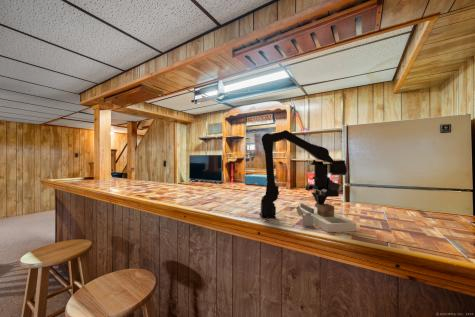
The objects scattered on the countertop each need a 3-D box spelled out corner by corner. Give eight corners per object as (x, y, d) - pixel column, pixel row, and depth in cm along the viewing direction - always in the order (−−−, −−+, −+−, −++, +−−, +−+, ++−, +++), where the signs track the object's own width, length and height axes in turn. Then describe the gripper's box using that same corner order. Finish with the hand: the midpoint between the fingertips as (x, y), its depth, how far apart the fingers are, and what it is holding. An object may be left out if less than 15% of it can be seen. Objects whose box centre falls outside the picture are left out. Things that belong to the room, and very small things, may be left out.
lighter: (313, 225, 85) (313, 206, 85) (313, 226, 84) (313, 207, 84) (295, 223, 88) (295, 204, 88) (295, 224, 86) (295, 205, 86)
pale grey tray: (327, 232, 77) (327, 219, 77) (296, 212, 105) (296, 202, 105) (356, 230, 79) (356, 218, 79) (318, 211, 107) (318, 202, 107)
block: (323, 217, 87) (323, 206, 87) (317, 213, 92) (317, 204, 92) (334, 216, 88) (334, 206, 87) (327, 213, 92) (327, 203, 92)
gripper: (350, 176, 85) (350, 213, 86) (325, 173, 104) (325, 203, 104) (326, 176, 84) (325, 214, 84) (305, 173, 102) (304, 204, 103)
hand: (320, 208), depth 94 cm, fingers closed
